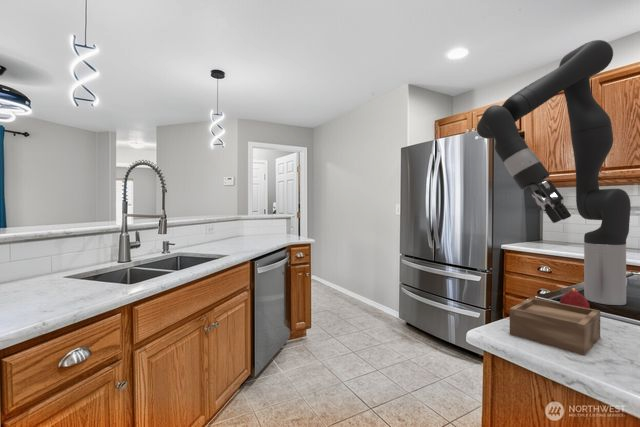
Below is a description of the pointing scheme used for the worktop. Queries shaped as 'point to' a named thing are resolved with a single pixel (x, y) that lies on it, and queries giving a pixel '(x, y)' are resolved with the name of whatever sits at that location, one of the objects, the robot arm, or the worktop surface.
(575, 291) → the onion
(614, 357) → the worktop surface
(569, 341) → the brown wooden box
